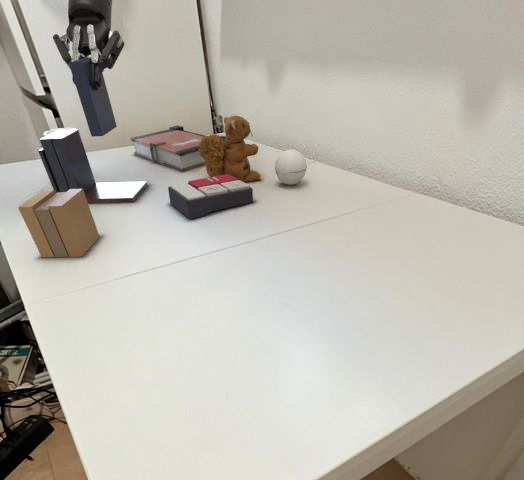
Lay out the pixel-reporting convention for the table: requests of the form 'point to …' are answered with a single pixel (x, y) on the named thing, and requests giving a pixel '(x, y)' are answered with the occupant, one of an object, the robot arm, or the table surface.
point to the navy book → (93, 98)
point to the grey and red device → (209, 195)
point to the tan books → (60, 223)
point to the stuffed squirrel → (230, 151)
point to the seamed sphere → (290, 167)
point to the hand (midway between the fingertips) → (87, 87)
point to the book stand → (81, 170)
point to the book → (171, 148)
